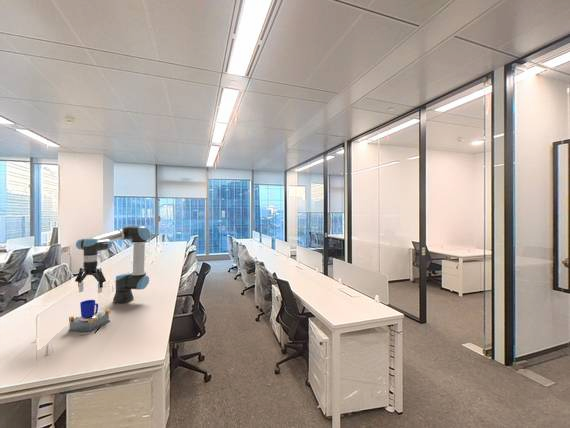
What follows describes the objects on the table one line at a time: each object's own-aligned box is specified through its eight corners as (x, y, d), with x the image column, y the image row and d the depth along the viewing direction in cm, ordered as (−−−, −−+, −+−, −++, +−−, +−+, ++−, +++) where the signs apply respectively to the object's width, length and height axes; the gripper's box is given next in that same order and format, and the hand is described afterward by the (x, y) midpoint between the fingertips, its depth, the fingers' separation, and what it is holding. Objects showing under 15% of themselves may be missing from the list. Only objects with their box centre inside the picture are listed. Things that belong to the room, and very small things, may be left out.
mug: (91, 320, 169) (91, 304, 169) (76, 318, 171) (76, 303, 171) (103, 315, 177) (103, 300, 177) (88, 313, 179) (88, 299, 179)
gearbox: (87, 320, 184) (87, 308, 183) (110, 321, 182) (110, 309, 182) (64, 331, 166) (64, 318, 166) (90, 332, 165) (90, 319, 165)
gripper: (68, 261, 172) (68, 293, 172) (103, 262, 170) (103, 294, 170) (78, 259, 179) (78, 289, 180) (111, 260, 178) (111, 291, 178)
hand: (90, 292), depth 175 cm, fingers open, 13 cm apart
